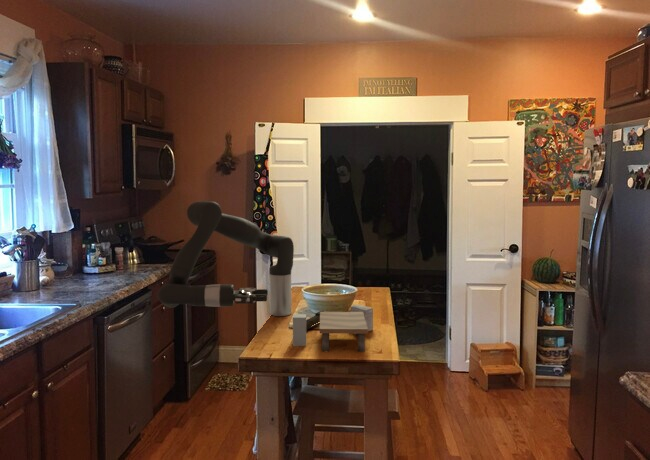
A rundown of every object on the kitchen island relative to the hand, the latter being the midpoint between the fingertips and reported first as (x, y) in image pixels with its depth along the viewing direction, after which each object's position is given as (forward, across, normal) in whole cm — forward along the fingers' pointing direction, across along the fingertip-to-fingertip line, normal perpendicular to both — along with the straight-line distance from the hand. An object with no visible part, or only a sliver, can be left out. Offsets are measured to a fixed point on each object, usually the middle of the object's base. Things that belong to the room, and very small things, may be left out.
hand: (267, 295), depth 180 cm
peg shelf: (+26, +1, +17) cm, 32 cm away
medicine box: (+36, +16, +17) cm, 43 cm away
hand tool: (+17, +22, +18) cm, 33 cm away
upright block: (+11, 0, +17) cm, 21 cm away
